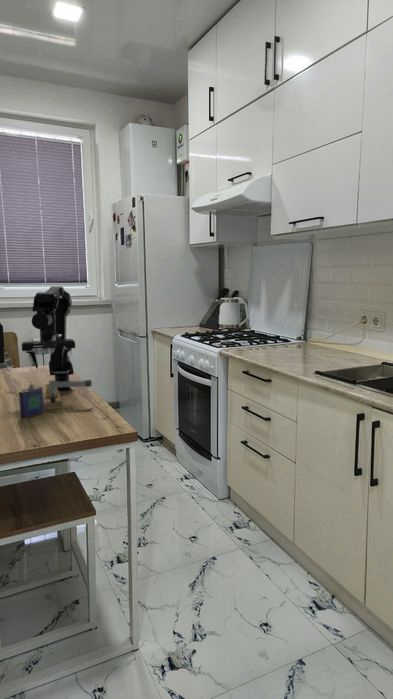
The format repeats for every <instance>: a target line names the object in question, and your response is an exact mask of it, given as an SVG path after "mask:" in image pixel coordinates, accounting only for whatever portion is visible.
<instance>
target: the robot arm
mask: <svg viewBox="0 0 393 699" xmlns="http://www.w3.org/2000/svg"><path fill="white" fill-rule="evenodd" d="M72 306H73V304H72V297H71V295H70V293H69V292H67V291H66V290H65V289H64V287H63V286H62V285H61V286H60V285H59V286H57V285H54V286H50V287H49V289H47V290H46V291H45V292H44V291H43V292H41V291H40V292H39V291H38V292H36V293H35V295H34V298H33V304H32V312H36V313H35V314H34V315H33V316H32V318H31V324H32V326H33V327H34V328H35V329H37V330H39V340H40V342H34V341H33V340H32V341H30V340H29V341H23V342H22V343H21V351H22V352H25V353H26V354H29V355H30V357H31V359H32V361H33V364H34V366H35V368H36V370H38V369H39V367H38V360H37V356H36V351H35V349H41V348H42V350H48V349H53V352H52V353H50V356H49V357H50V358H49V361H48V370H49V375H50V376H54V380H56V381H70V376H71V375H74V374H75V373H74V367H73V363H72V361H71V358H70V356H69V352H71V351H72V350H73V349H76V341H75V340H74V339H72V338H70V339H67V317H68V316H69V314H70V312H71V307H72ZM71 389H72V387H57V391H58V390H59V391H65V390H66V391H67V390H71Z"/></svg>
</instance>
